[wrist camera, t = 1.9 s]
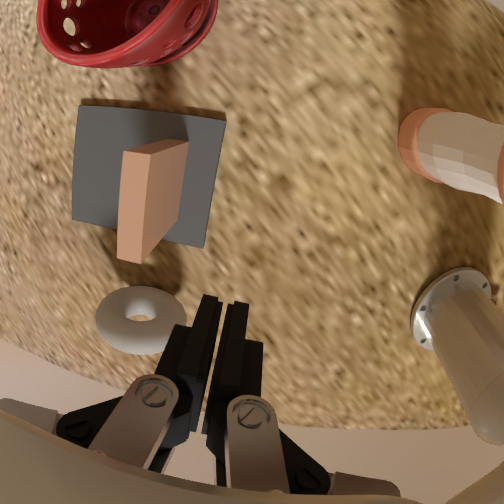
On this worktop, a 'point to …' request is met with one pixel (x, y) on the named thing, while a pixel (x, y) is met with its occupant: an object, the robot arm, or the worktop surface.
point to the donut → (139, 332)
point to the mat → (134, 135)
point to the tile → (149, 196)
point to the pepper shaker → (455, 150)
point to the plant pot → (124, 30)
